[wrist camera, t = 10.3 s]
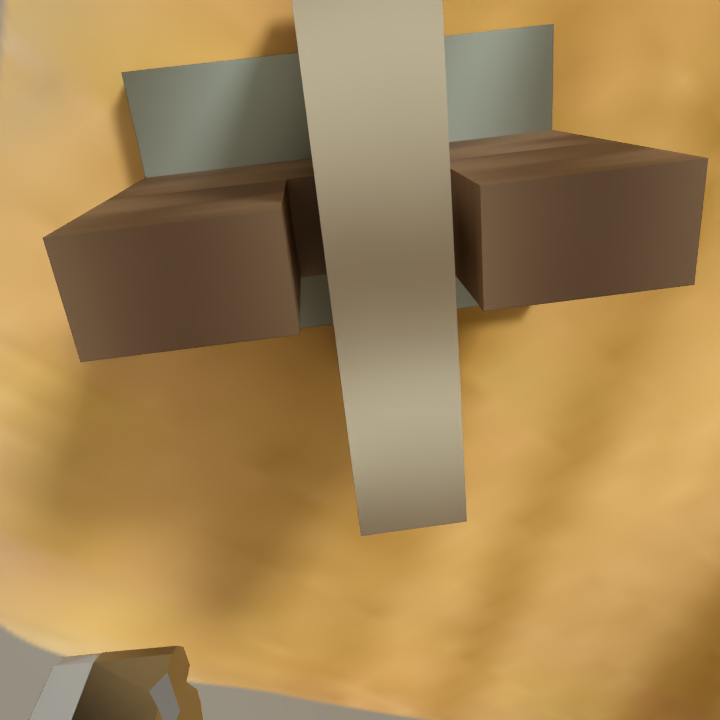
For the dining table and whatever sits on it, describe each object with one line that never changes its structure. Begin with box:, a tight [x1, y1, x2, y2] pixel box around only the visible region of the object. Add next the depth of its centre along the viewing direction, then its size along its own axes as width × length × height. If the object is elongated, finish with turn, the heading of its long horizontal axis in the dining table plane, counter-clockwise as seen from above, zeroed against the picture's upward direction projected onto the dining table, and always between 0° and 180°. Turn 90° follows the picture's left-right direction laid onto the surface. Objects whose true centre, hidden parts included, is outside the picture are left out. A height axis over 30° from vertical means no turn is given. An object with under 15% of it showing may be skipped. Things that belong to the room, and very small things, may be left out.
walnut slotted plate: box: [43, 24, 708, 362], centre depth 16 cm, size 12×8×9 cm, turn 96°
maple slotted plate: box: [292, 0, 467, 536], centre depth 16 cm, size 12×2×8 cm, turn 6°
